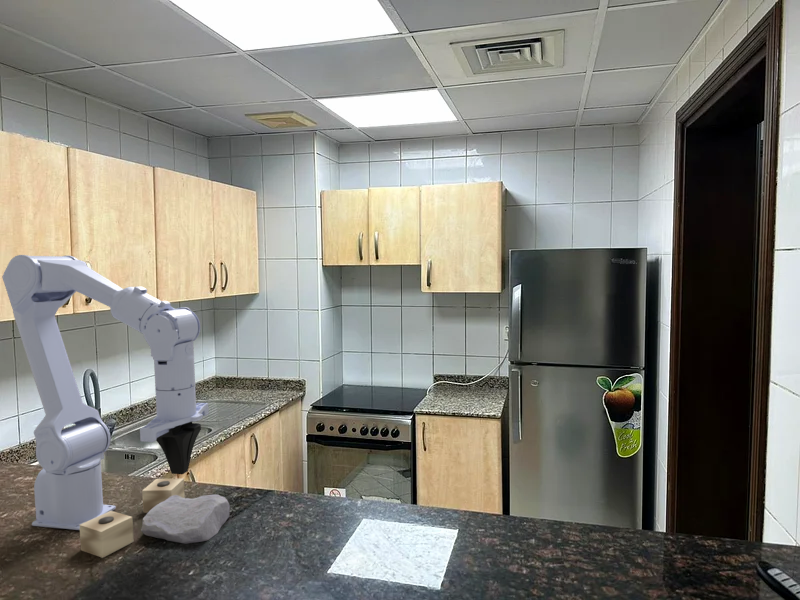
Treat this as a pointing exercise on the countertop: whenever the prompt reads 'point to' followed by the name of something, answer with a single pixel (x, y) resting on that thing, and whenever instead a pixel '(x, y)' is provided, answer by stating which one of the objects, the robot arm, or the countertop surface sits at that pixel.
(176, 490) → the beech block
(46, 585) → the countertop surface
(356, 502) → the countertop surface
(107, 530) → the beech block
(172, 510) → the stone block
